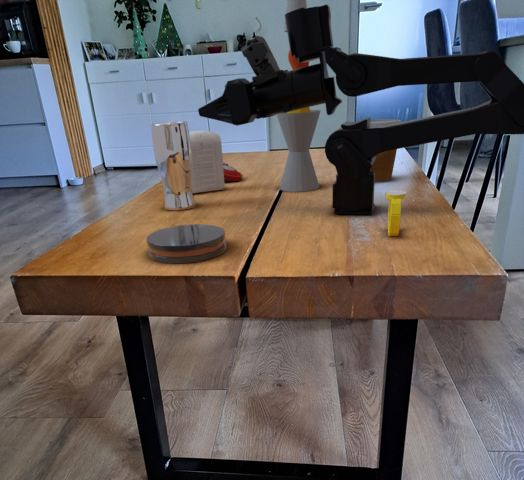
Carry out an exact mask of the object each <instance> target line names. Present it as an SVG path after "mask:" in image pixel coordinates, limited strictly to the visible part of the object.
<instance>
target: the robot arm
mask: <svg viewBox="0 0 524 480" xmlns="http://www.w3.org/2000/svg"><path fill="white" fill-rule="evenodd" d="M285 20H286V27H287V32H286V33H287V38H288V45H289V50H290V52H291V57H295V59H297V58H299V59H298V63H305V62H309V63H310V62H312V61H316V60H319V63H315V64H312V65H309V66H307V67H303V68H299V69H295V70H293V69H292V70H289V69H280V67H279V64H278V62H277V59H276V58H275V56H274V54H273V52H272V50H271V48H270V46H269V44H268V42H267V41H266V39H265V37H263V36H260V35H255V36H254V37H253V38H252V39H248V40H247V41H246V44H245V45H243V46H242V47H241V48H240V51H241V54H242V55H243V57H244V58H246V60H247V63H248V64H249V66H250V68H251V69H252V72H253V73H254V75H255V76H251V80H252V81H250V80H248V79H247V78H234V79H230V80H227V81H226V83H225V84H224V90H223V93H222V95H221V96H219V97H217V98H215V99H214V100H212V101H210V102H208V103H206V104H204V105H202V106H200V107H199V108H198V109H197V112H198V116H199V117H202V118H206V119H211V120H215V121H217V122H222V123H226V124H231V125H233V126H236V127H238V126H241V125H246V124H250V123H254V122H255V120H259V119H267V118H271V117H274V116H277V114H280V113H285V112H290V111H293V110H298V109H302V108H306V107H309V108H311V107H315V106H319V105H324V104H325V109H326V110H325V113H326V115H327V116H331V115H334V114H335V111H336V110H337V108H338V107H339V106H340V104H342V103H343V100H342V99H341V98H340V97H338V96H337V89H336V87H337V88H338V90H339V92H341V93H342V94H343V95H345V96H346V97H352V98H355V97H360V96H364V95H368V94H372V93H376V92H379V91H384V90H388V89H391V88H397V87H403V86H404V87H405V86H421V85H422V86H423V85H437V84H439V85H441V84H455V83H456V84H457V83H471V82H477V83H478V84H479V85H480V87H481V88H482V89H483V90H484V91H485V93H486V94H487V95H488V97H489V98H490V100H487V101H486V102H482V103H481V104H478V105H476V106H473V107H468V108H463V109H459V110H453V111H449V112H448V111H447V112H444V113H440V114H435V115H430V116H425V117H420V118H415V119H411V120H405V121H401V122H400V123H395V124H390V125H386V126H370V120H371V116H367V117H364V118H363V119H360V120H357V121H348V120H346V121H345V122H343V123H342V124H340V127H339V128H338V129H336V130H334V131H333V132H332V133H331V134H330V135H328V137H327V139H326V142H325V144H324V154H325V156H326V159H327V161H328V162H329V163H330V164H331V165H333V166H334V167H335V171H336V175H335V181H334V182H333V184H332V201H331V204H332V205H331V206H332V209H333V214H334V215H373V213H374V210H375V206H376V205H375V204H376V203H374V202H375V183H376V182H375V172H370V170H371V169H372V167H373V165H374V162H375V160H376V157H375V155H377V154H380V153H382V152H385V151H389V150H394V149H397V150H398V149H404V148H410V147H415V146H421V145H425V144H426V145H427V144H432V143H436V142H442V141H446V140H452V139H457V138H463V137H468V136H473V135H499V136H503V135H524V82H523V81H522V80H521V79H520V77H518V75H517V74H516V73H515V72H514V71H512V69H511V68H510V67H509V66H508V65H507V64H506V62H505V61H503V59H502V56H501V55H500V53H499V52H497V51H495V50H492V49H491V50H485V51H482V52H476V53H475V52H473V53H463V54H447V55H435V56H423V57H421V56H420V57H405V58H396V57H390V56H382V55H374V54H367V53H358V52H357V53H356V52H353V53H351V54H348V53H346V52H344V51H342V48H341V47H338V46H335V47H334V40H333V39H334V38H333V30H332V21H331V20H332V11H331V7H330V6H329V5H328V4H323V5H320V6H319V5H317V6H311V7H307V8H304V7H303V8H299V9H296V10H293V11H291V12H289V13H287V14H286V13H285V14H284V21H285ZM328 67H329V68H330V69H331V70H332V72H333V73H334V75H335V76H330V75H329V70H328ZM336 85H337V86H336Z"/></svg>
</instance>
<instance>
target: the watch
mask: <svg viewBox="0 0 524 480" xmlns="http://www.w3.org/2000/svg"><path fill="white" fill-rule="evenodd" d="M406 198H407V191H404V190H399V189H398V190H397V189H394V190H388V191H386V192H385V199H387V200H388V212H387V236H388V237H398V236H400V235H399V234H400V228H401V220H402V219H401V217H402V200H404V199H406Z"/></svg>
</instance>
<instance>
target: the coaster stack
mask: <svg viewBox="0 0 524 480" xmlns="http://www.w3.org/2000/svg"><path fill="white" fill-rule="evenodd" d="M225 239H226V231H225V229H224V228H223V227H220V226H217V225H213V224H202V223H200V224H198V223H197V224H193V223H192V224H180V225H173V226H169V227H165V228H162V229H161V228H160V229H158V230H156V231H152V232H151V233H149V234H148V235H147V236H146V244H147V246H148V256H149V258H150V259H151V260H153V261H155V262H158V263H162V264H163V263H164V264H191V263H197V262H202V261H207V260H210V259H214V258H216V257H219V256H221V255H222V254H224V253H225V252H226V250H227V242H226V240H225Z"/></svg>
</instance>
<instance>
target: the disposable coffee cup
mask: <svg viewBox="0 0 524 480" xmlns="http://www.w3.org/2000/svg"><path fill="white" fill-rule="evenodd" d="M400 122H402V120H401V119H396V118H395V119H394V118H393V119H391V118H390V119H389V118H386V119H370V126H386V125H390V124H395V123H400ZM397 151H398V149H394V150H389V151H385V152H382V153H380V154H377V155H375V157H376V160H375V162H374V165H373V167H372V169H371V170H370V172H375V183H384V182H388V181H391V180H392V177H393V172H394V167H395V162H396V155H397Z"/></svg>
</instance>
